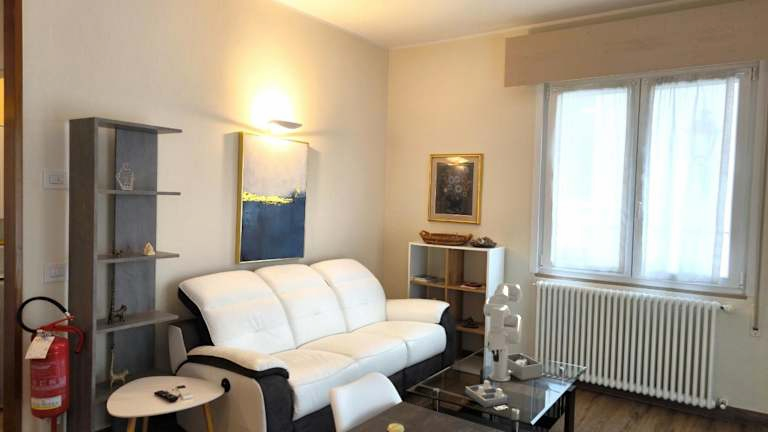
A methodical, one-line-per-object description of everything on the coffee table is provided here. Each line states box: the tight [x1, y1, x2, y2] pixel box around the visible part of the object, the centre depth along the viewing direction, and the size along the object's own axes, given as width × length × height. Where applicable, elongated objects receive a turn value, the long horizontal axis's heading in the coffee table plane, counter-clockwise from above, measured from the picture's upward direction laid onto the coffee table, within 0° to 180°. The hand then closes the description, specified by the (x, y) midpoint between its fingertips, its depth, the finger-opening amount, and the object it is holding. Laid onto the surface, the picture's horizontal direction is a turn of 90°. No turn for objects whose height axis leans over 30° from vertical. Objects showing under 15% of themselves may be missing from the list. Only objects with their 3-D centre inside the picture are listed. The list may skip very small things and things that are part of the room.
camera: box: [515, 352, 528, 366], centre depth 333 cm, size 15×8×10 cm, turn 148°
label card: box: [493, 404, 509, 411], centre depth 281 cm, size 7×4×1 cm, turn 113°
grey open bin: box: [508, 352, 543, 381], centre depth 333 cm, size 15×22×8 cm
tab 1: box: [476, 386, 486, 395], centre depth 292 cm, size 4×4×5 cm
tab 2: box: [482, 379, 492, 389], centre depth 301 cm, size 4×4×5 cm
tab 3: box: [494, 387, 504, 398], centre depth 290 cm, size 4×4×5 cm
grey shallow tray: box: [464, 383, 510, 408], centre depth 294 cm, size 15×20×4 cm
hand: (495, 361), depth 302 cm, fingers closed
